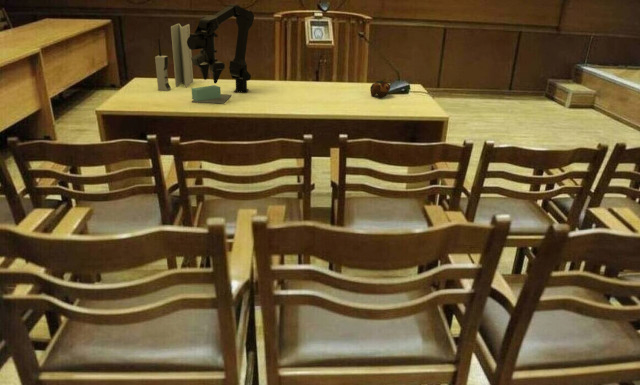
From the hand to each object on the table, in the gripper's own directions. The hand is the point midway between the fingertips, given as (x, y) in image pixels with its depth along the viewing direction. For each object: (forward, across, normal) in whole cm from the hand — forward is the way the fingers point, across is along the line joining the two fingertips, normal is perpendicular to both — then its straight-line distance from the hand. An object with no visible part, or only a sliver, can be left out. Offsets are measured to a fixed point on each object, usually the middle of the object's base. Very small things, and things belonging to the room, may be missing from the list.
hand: (210, 81), depth 237 cm
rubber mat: (+8, +1, 0) cm, 8 cm away
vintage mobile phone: (+9, -28, -10) cm, 31 cm away
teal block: (+5, 0, +4) cm, 6 cm away
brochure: (+8, -33, +4) cm, 34 cm away
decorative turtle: (+8, +42, +74) cm, 86 cm away
